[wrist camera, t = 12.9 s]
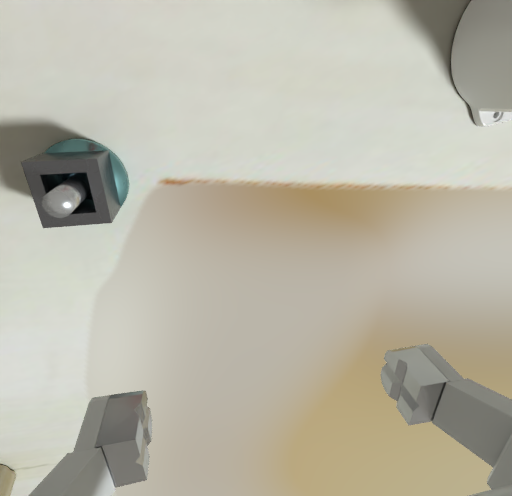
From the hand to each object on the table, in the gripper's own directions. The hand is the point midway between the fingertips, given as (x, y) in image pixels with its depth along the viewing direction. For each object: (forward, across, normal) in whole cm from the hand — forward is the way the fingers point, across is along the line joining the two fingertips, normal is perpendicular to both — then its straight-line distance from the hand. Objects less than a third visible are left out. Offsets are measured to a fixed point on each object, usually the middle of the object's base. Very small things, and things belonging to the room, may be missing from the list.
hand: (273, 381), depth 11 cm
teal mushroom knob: (+31, +14, 0) cm, 34 cm away
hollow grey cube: (+30, +14, 0) cm, 33 cm away
